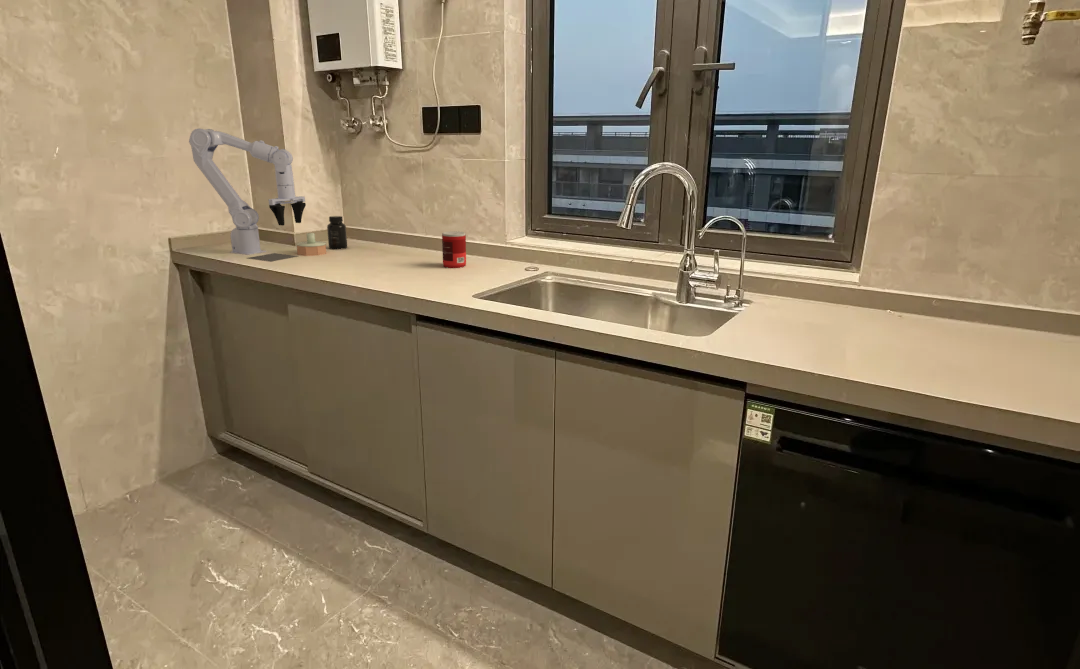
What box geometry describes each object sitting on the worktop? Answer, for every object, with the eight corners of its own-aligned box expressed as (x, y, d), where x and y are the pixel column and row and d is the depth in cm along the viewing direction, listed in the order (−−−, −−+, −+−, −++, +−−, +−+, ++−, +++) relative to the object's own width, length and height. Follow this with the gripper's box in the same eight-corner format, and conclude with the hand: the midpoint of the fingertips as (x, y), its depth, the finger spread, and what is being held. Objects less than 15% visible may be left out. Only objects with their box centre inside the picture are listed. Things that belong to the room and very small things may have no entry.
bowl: (292, 254, 221) (291, 245, 220) (312, 251, 230) (311, 241, 229) (311, 257, 217) (310, 247, 216) (332, 253, 226) (331, 243, 225)
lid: (290, 245, 220) (289, 234, 218) (309, 241, 229) (308, 230, 227) (313, 247, 216) (312, 236, 215) (332, 243, 225) (331, 232, 224)
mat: (246, 259, 212) (245, 258, 212) (274, 254, 222) (274, 253, 222) (271, 262, 207) (270, 261, 207) (299, 257, 217) (298, 256, 217)
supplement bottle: (351, 247, 238) (349, 216, 235) (337, 250, 233) (334, 217, 229) (339, 246, 242) (336, 215, 238) (324, 248, 236) (322, 216, 233)
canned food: (468, 264, 210) (467, 231, 207) (463, 268, 202) (462, 235, 199) (446, 263, 211) (445, 231, 208) (440, 267, 203) (439, 234, 200)
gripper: (276, 186, 210) (281, 227, 214) (309, 184, 223) (313, 222, 227) (262, 186, 213) (267, 225, 217) (295, 183, 226) (299, 221, 230)
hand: (290, 224), depth 222 cm, fingers open, 7 cm apart
